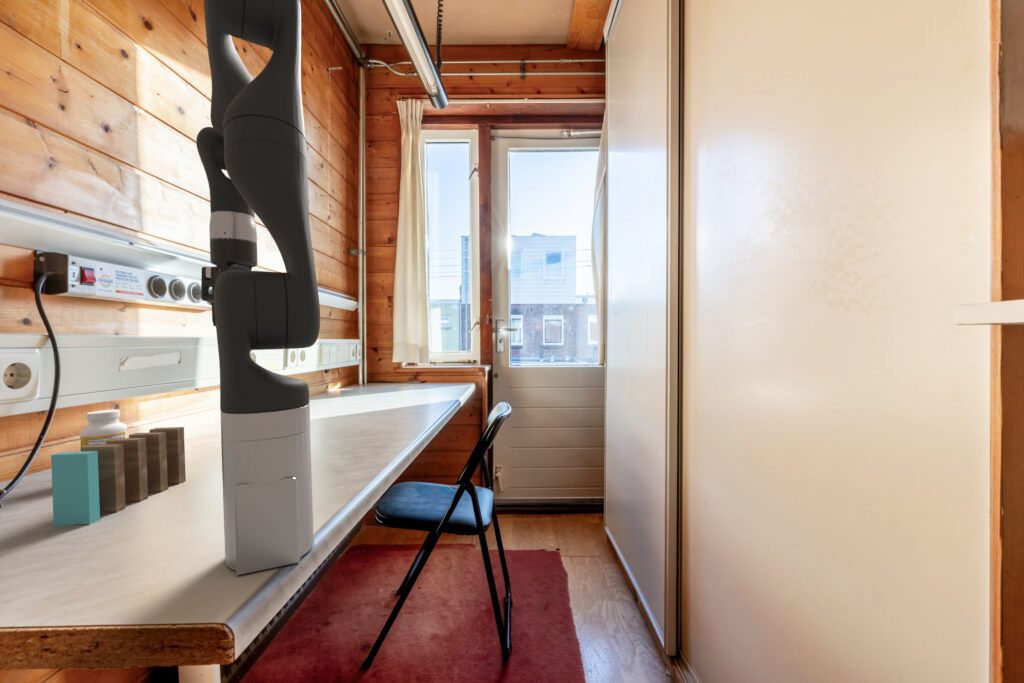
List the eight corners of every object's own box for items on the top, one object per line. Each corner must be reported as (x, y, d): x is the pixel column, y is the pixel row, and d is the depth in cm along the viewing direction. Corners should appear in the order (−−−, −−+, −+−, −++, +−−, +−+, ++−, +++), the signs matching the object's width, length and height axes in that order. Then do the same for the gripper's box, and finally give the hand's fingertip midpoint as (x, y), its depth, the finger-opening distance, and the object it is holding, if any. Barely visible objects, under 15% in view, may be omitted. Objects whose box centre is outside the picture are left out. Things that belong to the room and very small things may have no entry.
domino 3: (140, 501, 72) (137, 439, 72) (108, 502, 72) (106, 440, 72) (147, 498, 73) (145, 437, 73) (117, 499, 73) (114, 438, 73)
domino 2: (116, 512, 67) (114, 446, 67) (82, 513, 67) (80, 447, 67) (125, 508, 69) (123, 443, 69) (92, 509, 69) (90, 444, 69)
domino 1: (89, 524, 63) (87, 453, 63) (53, 525, 63) (51, 455, 63) (100, 519, 65) (97, 451, 65) (64, 521, 65) (62, 452, 64)
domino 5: (179, 484, 81) (177, 428, 80) (151, 485, 80) (149, 429, 80) (185, 481, 82) (183, 426, 82) (158, 482, 82) (156, 427, 82)
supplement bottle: (91, 476, 87) (88, 410, 87) (134, 471, 90) (131, 407, 90) (75, 486, 81) (72, 415, 81) (121, 480, 84) (119, 412, 84)
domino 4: (160, 492, 76) (158, 434, 76) (131, 493, 76) (128, 434, 76) (167, 489, 78) (165, 432, 78) (138, 490, 78) (136, 432, 78)
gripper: (227, 231, 76) (229, 326, 77) (275, 246, 91) (277, 326, 91) (184, 232, 77) (187, 326, 77) (239, 247, 91) (241, 326, 92)
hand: (236, 326), depth 84 cm, fingers open, 8 cm apart
